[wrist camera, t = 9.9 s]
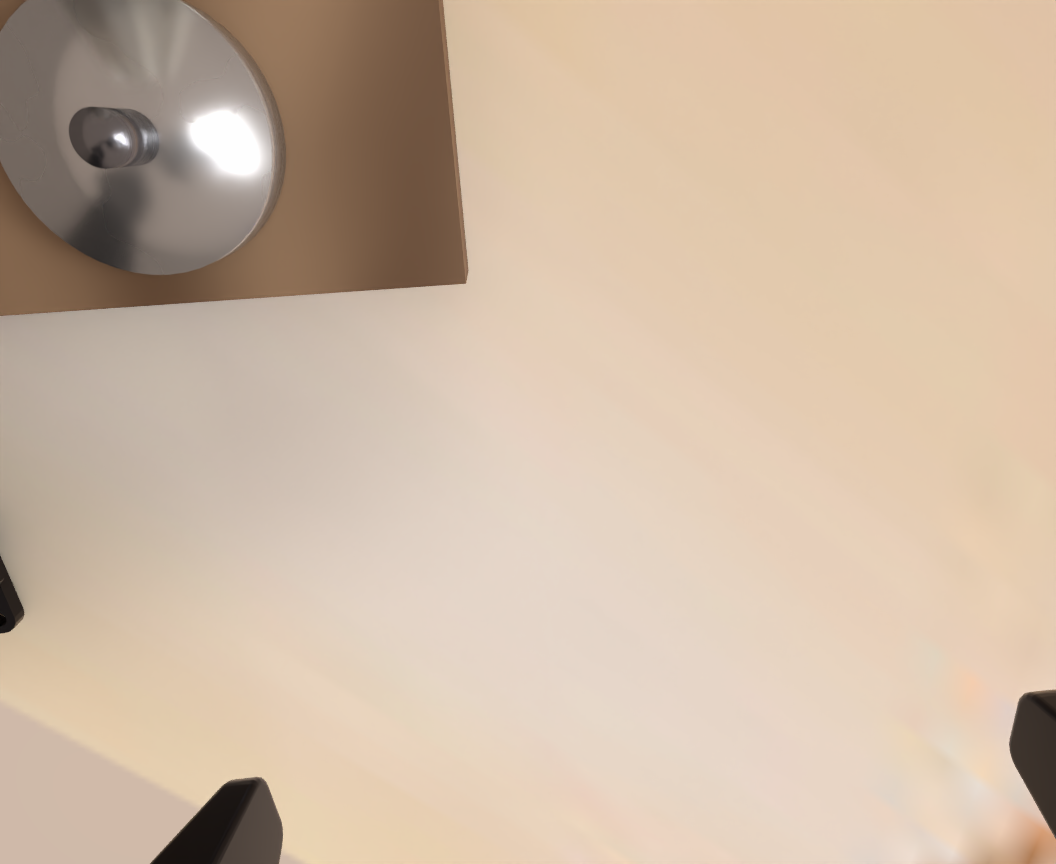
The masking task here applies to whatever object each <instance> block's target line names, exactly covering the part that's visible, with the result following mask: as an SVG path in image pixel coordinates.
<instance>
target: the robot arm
mask: <svg viewBox="0 0 1056 864" xmlns="http://www.w3.org/2000/svg"><path fill="white" fill-rule="evenodd" d="M0 613H1V614H3V615H4V616H5V617H4V616H2V615H0V633H6V632H10V631H11V630H12V629H13V628H15V626H16V625H17V624H18V623H19V622H20V621H21V620H22V619H23V617H24V609H23V607H22V604H21V602H20V600H19V598H18V595H17V593H16V591H15V588H14V586H13V584H12V582H11V579H10V577H9V575H8V572H7V570H6V568H5V566H4V563H3V561H2V559H1V556H0ZM1009 746H1010V753H1011V757H1012V760H1013V762H1014V764H1015V767H1016V768H1017V770H1018V772H1019V774H1020V776H1021V777H1022V779H1023V781H1024V783H1025V785H1026V786H1027V788H1028V790H1029V792H1030V794H1031V795H1032V797H1033V799H1034V801H1035V803H1036V804H1037V806H1038V808H1039V810H1040V811H1041V813H1042V815H1043V817H1044V819H1045V820H1046V822H1047V824H1048V826H1049V828H1050V829H1051V831H1052V833H1053V835H1054V837H1055V838H1056V690H1046V691H1036V692H1028V693H1025V694H1024V695H1023V696H1022V697H1021V698H1020V699H1019V702H1018V706H1017V710H1016V714H1015V719H1014V723H1013V727H1012V732H1011V736H1010V742H1009ZM282 842H283V828H282V823H281V819H280V817H279V814H278V811H277V809H276V806H275V803H274V801H273V798H272V795H271V793H270V790H269V787H268V785H267V783H266V781H265V780H264V779H262V778H260V777H253V778H244V779H235V780H231V781H229V782H227V783H226V784H224V785H223V786H222V787H221V788H220V789H219V790H218V791H217V792H216V793H215V794H214V795H213V796H212V797H211V799H210V800H209V801H208V802H207V803H206V804H205V805H204V806H203V807H202V808H201V809H200V810H199V811H198V813H197V814H196V815H195V816H194V817H193V818H192V819H191V820H190V821H189V822H188V823H187V824H186V826H185V827H184V828H183V829H182V830H181V831H180V832H179V833H178V834H177V835H176V836H175V837H174V838H173V840H172V841H171V842H170V843H169V844H168V845H167V846H166V847H165V848H164V849H163V850H162V851H161V852H160V853H159V855H158V856H157V857H156V858H155V859H154V860H153V861H152V862H151V863H150V864H279V860H280V855H281V849H282Z"/></svg>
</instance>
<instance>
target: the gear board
mask: <svg viewBox="0 0 1056 864" xmlns="http://www.w3.org/2000/svg"><path fill="white" fill-rule="evenodd" d="M25 1H27V0H0V31H1V30H2V28H3V27H4V25H5V24H6V22H7V21H8V19H9V18H10V17H11V15H12V14H13V13H14V12H15V11H16V10H17V9H18V8H19V7H20V6H21V5H22V4H23V3H24V2H25ZM182 1H185V2H187V3H189V4H191V5H193V6H195V7H196V8H198V9H200V10H201V11H203V12H204V13H206V14H208V15H209V16H211V17H212V18H213V19H214V20H216V21H217V22H218V23H220V24H221V25H222V26H223V27H225V28H226V29H227V30H228V31H229V32H230V33H231V34H232V35H233V36H234V37H235V38H236V39H237V40H238V41H239V42H240V43H241V44H242V46H243V47H244V48H245V49H246V50H247V52H248V53H249V54H250V55H251V57H252V58H253V59H254V61H255V62H256V64H257V65H258V67H259V69H260V70H261V72H262V73H263V75H264V77H265V79H266V81H267V83H268V85H269V87H270V89H271V91H272V93H273V95H274V98H275V101H276V103H277V106H278V109H279V112H280V116H281V120H282V124H283V128H284V136H285V144H286V167H285V175H284V182H283V186H282V189H281V193H280V197H279V199H278V201H277V204H276V206H275V209H274V211H273V213H272V214H271V216H270V218H269V219H268V221H267V222H266V224H265V225H264V227H263V228H262V229H261V230H260V231H259V233H258V234H257V235H256V236H255V237H254V238H253V239H252V240H250V241H249V242H248V243H247V244H246V245H245V246H243V247H242V248H240V249H239V250H237V251H235V252H234V253H232V254H230V255H228V256H226V257H224V258H222V259H220V260H217V261H215V262H213V263H211V264H209V265H206V266H204V267H202V268H199V269H196V270H192V271H189V272H185V273H178V274H170V275H150V274H142V273H134V272H130V271H126V270H122V269H118V268H115V267H112V266H110V265H107V264H104V263H102V262H99V261H97V260H95V259H93V258H91V257H89V256H87V255H85V254H83V253H82V252H80V251H78V250H77V249H75V248H74V247H72V246H71V245H69V244H68V243H66V242H65V241H64V240H62V239H61V238H60V237H59V236H57V235H56V234H55V233H54V232H52V231H51V230H50V229H49V228H48V227H47V226H46V225H45V224H44V223H43V222H42V221H41V220H40V219H39V218H38V217H37V216H36V215H35V214H34V213H33V211H32V210H31V209H30V208H29V207H28V206H27V204H26V203H25V202H24V201H23V199H22V198H21V196H20V195H19V193H18V192H17V190H16V189H15V187H14V186H13V185H12V183H11V181H10V179H9V177H8V175H7V174H6V172H5V170H4V168H3V166H2V164H1V161H0V316H5V315H19V314H33V313H48V312H62V311H77V310H91V309H106V308H120V307H134V306H149V305H163V304H178V303H192V302H206V301H221V300H235V299H250V298H264V297H279V296H293V295H307V294H322V293H336V292H351V291H365V290H379V289H394V288H408V287H423V286H437V285H452V284H466V280H467V275H468V262H467V251H466V241H465V230H464V220H463V209H462V199H461V188H460V177H459V167H458V156H457V146H456V135H455V125H454V114H453V103H452V93H451V82H450V72H449V61H448V51H447V40H446V29H445V19H444V8H443V0H182Z"/></svg>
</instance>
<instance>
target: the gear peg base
mask: <svg viewBox="0 0 1056 864" xmlns="http://www.w3.org/2000/svg"><path fill="white" fill-rule="evenodd" d="M0 161H1V164H2V166H3V168H4V170H5V172H6V174H7V175H8V177H9V179H10V181H11V183H12V185H13V186H14V187H15V189H16V190H17V192H18V193H19V195H20V196H21V198H22V199H23V201H24V202H25V203H26V204H27V206H28V207H29V208H30V209H31V210H32V211H33V213H34V214H35V215H36V216H37V217H38V218H39V219H40V220H41V221H42V222H43V223H44V224H45V225H46V226H47V227H48V228H49V229H50V230H51V231H52V232H54V233H55V234H56V235H57V236H59V237H60V238H61V239H62V240H64V241H65V242H66V243H68V244H69V245H71V246H72V247H74V248H75V249H77V250H78V251H80V252H82V253H83V254H85V255H87V256H89V257H91V258H93V259H95V260H97V261H99V262H102V263H104V264H107V265H110V266H112V267H115V268H118V269H122V270H126V271H130V272H134V273H142V274H150V275H170V274H178V273H185V272H189V271H192V270H196V269H199V268H202V267H204V266H206V265H209V264H211V263H213V262H215V261H217V260H220V259H222V258H224V257H226V256H228V255H230V254H232V253H234V252H235V251H237V250H239V249H240V248H242V247H243V246H245V245H246V244H247V243H248V242H249V241H250V240H252V239H253V238H254V237H255V236H256V235H257V234H258V233H259V231H260V230H261V229H262V228H263V227H264V225H265V224H266V222H267V221H268V219H269V218H270V216H271V214H272V213H273V211H274V209H275V206H276V204H277V201H278V199H279V197H280V193H281V189H282V186H283V182H284V175H285V167H286V144H285V136H284V128H283V124H282V120H281V116H280V112H279V109H278V106H277V103H276V101H275V98H274V95H273V93H272V91H271V89H270V87H269V85H268V83H267V81H266V79H265V77H264V75H263V73H262V72H261V70H260V69H259V67H258V65H257V64H256V62H255V61H254V59H253V58H252V57H251V55H250V54H249V53H248V52H247V50H246V49H245V48H244V47H243V46H242V44H241V43H240V42H239V41H238V40H237V39H236V38H235V37H234V36H233V35H232V34H231V33H230V32H229V31H228V30H227V29H226V28H225V27H223V26H222V25H221V24H220V23H218V22H217V21H216V20H214V19H213V18H212V17H211V16H209V15H208V14H206V13H204V12H203V11H201V10H200V9H198V8H196V7H195V6H193V5H191V4H189V3H187V2H185V1H182V0H27V1H25V2H24V3H23V4H22V5H21V6H20V7H19V8H18V9H17V10H16V11H15V12H14V13H13V14H12V15H11V17H10V18H9V19H8V21H7V22H6V24H5V25H4V27H3V28H2V30H1V31H0Z"/></svg>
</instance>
